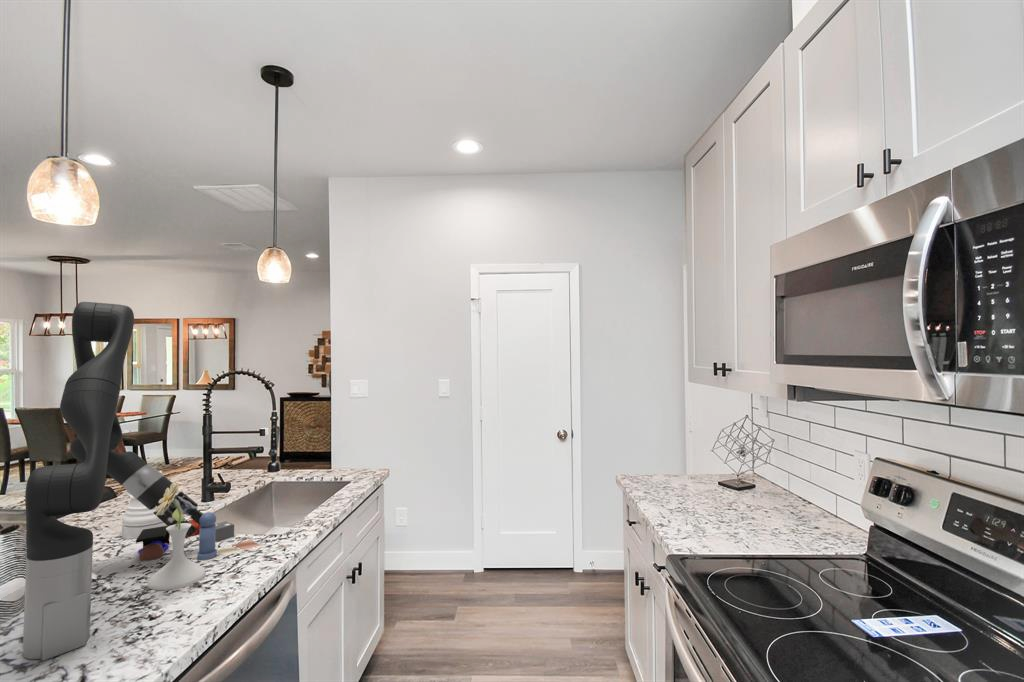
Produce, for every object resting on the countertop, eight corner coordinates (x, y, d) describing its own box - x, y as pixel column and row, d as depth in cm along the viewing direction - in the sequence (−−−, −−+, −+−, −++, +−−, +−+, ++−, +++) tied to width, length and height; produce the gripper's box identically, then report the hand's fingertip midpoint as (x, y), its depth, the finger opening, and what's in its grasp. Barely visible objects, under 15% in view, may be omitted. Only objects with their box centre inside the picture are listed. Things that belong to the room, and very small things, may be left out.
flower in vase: (156, 579, 120) (159, 475, 121) (210, 572, 124) (212, 471, 125) (137, 604, 108) (140, 488, 108) (197, 595, 112) (200, 483, 113)
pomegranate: (186, 541, 150) (169, 532, 144) (198, 523, 153) (182, 514, 147) (201, 545, 148) (184, 536, 142) (212, 527, 151) (196, 517, 146)
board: (264, 550, 138) (264, 544, 138) (202, 570, 125) (202, 564, 125) (248, 544, 143) (249, 538, 143) (187, 562, 130) (188, 557, 130)
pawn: (220, 556, 130) (221, 511, 131) (202, 561, 127) (203, 516, 127) (211, 552, 133) (212, 509, 133) (193, 557, 129) (195, 513, 130)
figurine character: (141, 555, 139) (133, 568, 126) (142, 526, 140) (134, 536, 127) (170, 550, 142) (165, 562, 129) (171, 522, 143) (167, 532, 130)
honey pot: (171, 522, 162) (173, 466, 163) (174, 532, 152) (176, 473, 153) (121, 530, 155) (123, 472, 155) (121, 542, 144) (123, 479, 145)
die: (233, 541, 145) (234, 523, 145) (215, 547, 140) (216, 528, 141) (225, 538, 147) (225, 520, 148) (207, 543, 143) (207, 525, 143)
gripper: (150, 482, 121) (202, 525, 124) (172, 469, 134) (218, 508, 137) (123, 505, 119) (177, 549, 122) (148, 490, 133) (196, 529, 136)
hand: (199, 527), depth 130 cm, fingers open, 8 cm apart
